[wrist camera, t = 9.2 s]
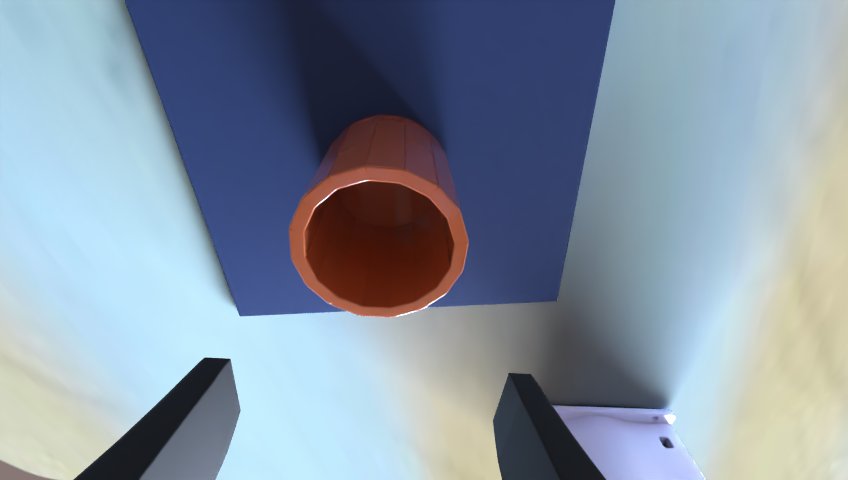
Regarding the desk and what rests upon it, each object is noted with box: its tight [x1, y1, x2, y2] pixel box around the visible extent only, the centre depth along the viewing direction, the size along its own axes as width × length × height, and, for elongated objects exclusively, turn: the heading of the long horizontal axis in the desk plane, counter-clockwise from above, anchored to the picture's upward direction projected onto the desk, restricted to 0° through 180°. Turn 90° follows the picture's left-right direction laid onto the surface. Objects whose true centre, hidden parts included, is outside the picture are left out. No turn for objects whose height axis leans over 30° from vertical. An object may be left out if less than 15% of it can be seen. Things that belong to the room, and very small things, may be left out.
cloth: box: [125, 0, 615, 316], centre depth 17 cm, size 17×15×1 cm
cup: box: [289, 114, 469, 317], centre depth 14 cm, size 5×5×6 cm
